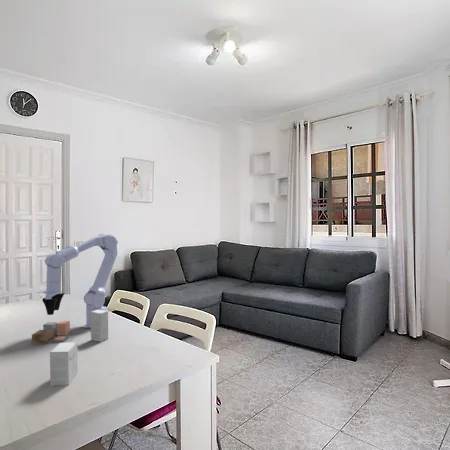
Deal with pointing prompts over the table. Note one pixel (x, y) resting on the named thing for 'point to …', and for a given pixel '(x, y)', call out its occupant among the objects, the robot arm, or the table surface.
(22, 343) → the table surface
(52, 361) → the small box
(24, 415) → the table surface
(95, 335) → the skincare box
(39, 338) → the walnut block
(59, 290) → the robot arm
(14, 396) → the table surface
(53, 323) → the slate block
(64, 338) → the tile
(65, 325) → the terracotta block
